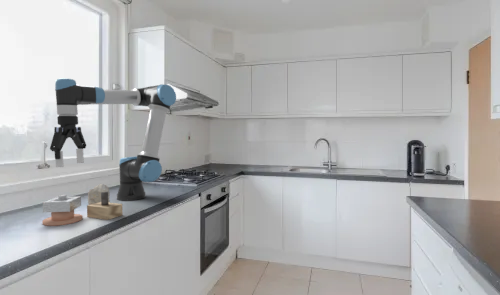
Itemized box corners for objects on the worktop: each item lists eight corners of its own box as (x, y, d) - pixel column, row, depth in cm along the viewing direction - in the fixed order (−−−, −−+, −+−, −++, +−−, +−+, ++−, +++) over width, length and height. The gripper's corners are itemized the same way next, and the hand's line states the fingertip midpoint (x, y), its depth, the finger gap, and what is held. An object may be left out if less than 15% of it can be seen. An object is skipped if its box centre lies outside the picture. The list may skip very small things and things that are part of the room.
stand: (103, 212, 136) (102, 189, 135) (122, 215, 131) (122, 191, 130) (87, 216, 128) (86, 192, 128) (107, 220, 123) (106, 195, 123)
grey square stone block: (56, 206, 127) (56, 197, 126) (81, 205, 128) (81, 196, 128) (43, 212, 117) (42, 202, 117) (69, 211, 118) (69, 201, 118)
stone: (91, 211, 138) (90, 186, 137) (86, 209, 141) (85, 185, 141) (112, 206, 146) (112, 183, 146) (107, 205, 149) (107, 182, 149)
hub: (68, 214, 132) (67, 191, 131) (90, 218, 126) (89, 193, 126) (34, 223, 119) (33, 197, 118) (57, 227, 113) (56, 200, 113)
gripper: (77, 116, 139) (80, 161, 141) (36, 114, 114) (40, 169, 116) (93, 116, 139) (95, 161, 140) (55, 114, 114) (59, 168, 115)
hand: (70, 165), depth 128 cm, fingers open, 13 cm apart
